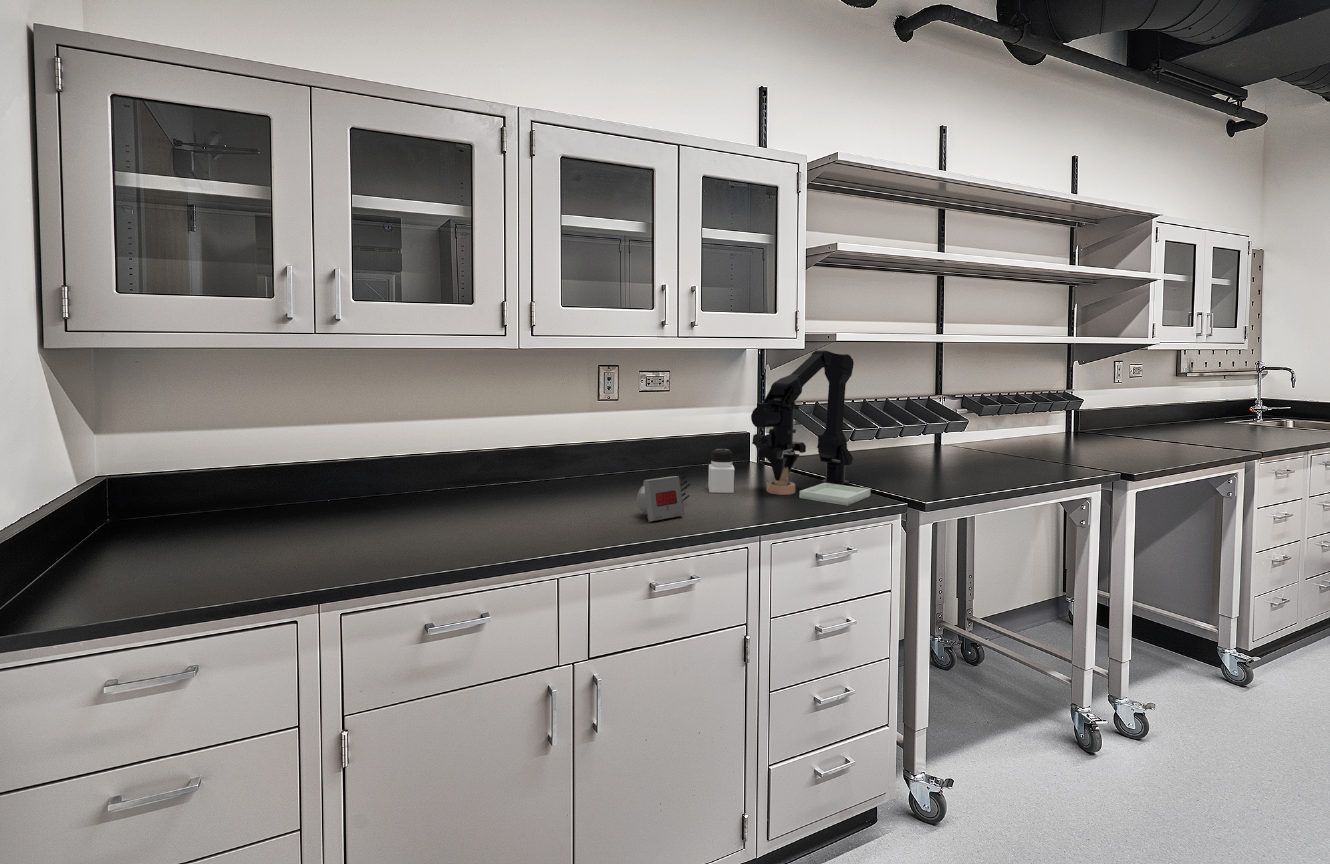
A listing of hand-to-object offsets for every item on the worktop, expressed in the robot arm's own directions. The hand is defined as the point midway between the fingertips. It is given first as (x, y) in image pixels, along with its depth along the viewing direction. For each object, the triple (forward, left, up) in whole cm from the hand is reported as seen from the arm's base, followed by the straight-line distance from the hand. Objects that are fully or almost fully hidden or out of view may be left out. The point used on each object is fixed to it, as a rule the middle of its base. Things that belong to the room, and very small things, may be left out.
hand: (781, 479), depth 201 cm
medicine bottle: (+10, -14, -4) cm, 18 cm away
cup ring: (0, 0, -4) cm, 4 cm away
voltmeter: (+40, -9, -4) cm, 41 cm away
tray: (-4, +15, -4) cm, 16 cm away
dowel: (0, 0, -4) cm, 4 cm away
